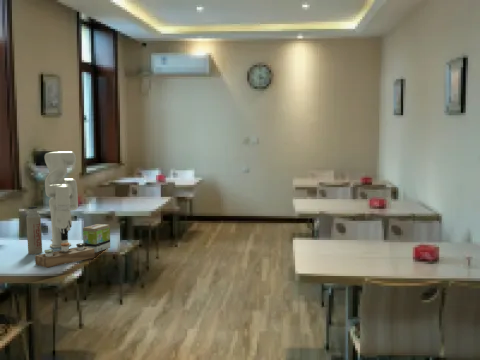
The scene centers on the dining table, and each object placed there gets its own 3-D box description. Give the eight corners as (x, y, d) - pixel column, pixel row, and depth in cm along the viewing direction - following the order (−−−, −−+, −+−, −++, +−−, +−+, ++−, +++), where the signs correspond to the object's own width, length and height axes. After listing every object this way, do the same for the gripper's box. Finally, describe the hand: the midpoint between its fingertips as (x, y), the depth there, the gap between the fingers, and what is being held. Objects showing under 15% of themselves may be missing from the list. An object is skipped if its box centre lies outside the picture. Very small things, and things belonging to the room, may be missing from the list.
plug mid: (59, 256, 317) (59, 243, 316) (66, 254, 320) (66, 242, 320) (64, 257, 314) (63, 244, 313) (71, 256, 317) (70, 243, 317)
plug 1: (43, 263, 310) (42, 250, 309) (51, 262, 313) (50, 249, 312) (48, 264, 307) (47, 251, 306) (55, 263, 310) (54, 250, 309)
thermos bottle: (44, 252, 338) (41, 206, 336) (30, 255, 333) (28, 208, 331) (39, 250, 345) (37, 205, 342) (26, 252, 339) (23, 206, 337)
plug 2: (75, 256, 325) (74, 244, 324) (82, 255, 328) (81, 242, 327) (79, 257, 322) (79, 245, 321) (86, 256, 325) (86, 243, 324)
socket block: (35, 264, 310) (35, 255, 310) (82, 254, 333) (82, 246, 332) (47, 267, 302) (46, 258, 302) (94, 257, 325) (94, 248, 324)
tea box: (97, 252, 336) (96, 228, 335) (83, 251, 340) (81, 227, 338) (111, 247, 350) (110, 224, 349) (97, 246, 354) (96, 223, 352)
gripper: (49, 207, 317) (51, 239, 319) (64, 210, 307) (66, 243, 309) (61, 205, 322) (63, 236, 324) (76, 208, 313) (78, 240, 315)
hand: (64, 239), depth 317 cm, fingers closed
